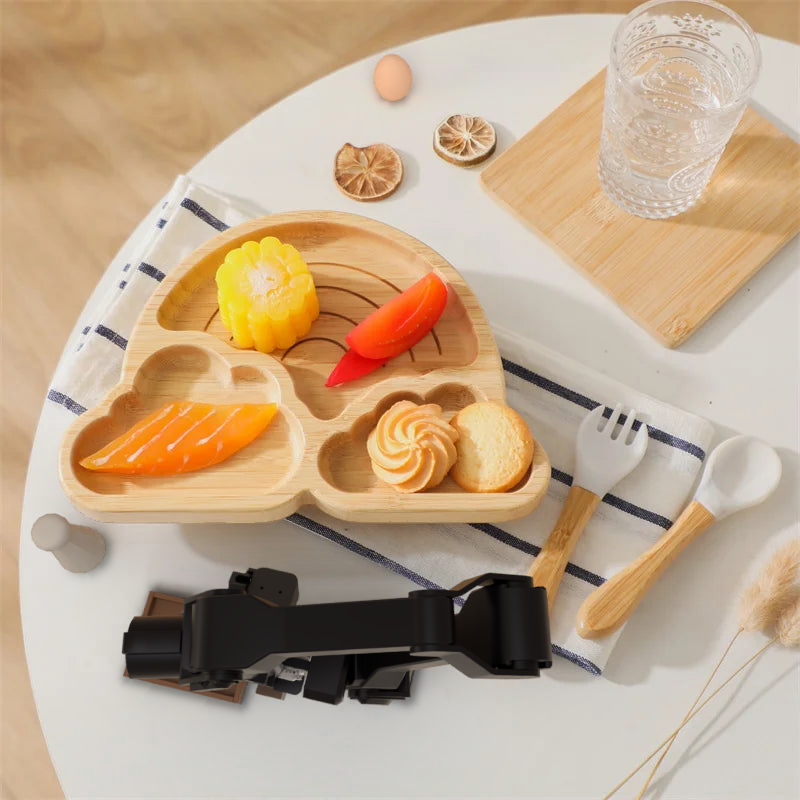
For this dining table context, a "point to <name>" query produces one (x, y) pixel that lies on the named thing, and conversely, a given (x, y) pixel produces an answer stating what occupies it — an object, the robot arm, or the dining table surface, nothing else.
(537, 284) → the dining table surface
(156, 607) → the tray
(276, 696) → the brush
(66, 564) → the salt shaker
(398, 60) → the egg
